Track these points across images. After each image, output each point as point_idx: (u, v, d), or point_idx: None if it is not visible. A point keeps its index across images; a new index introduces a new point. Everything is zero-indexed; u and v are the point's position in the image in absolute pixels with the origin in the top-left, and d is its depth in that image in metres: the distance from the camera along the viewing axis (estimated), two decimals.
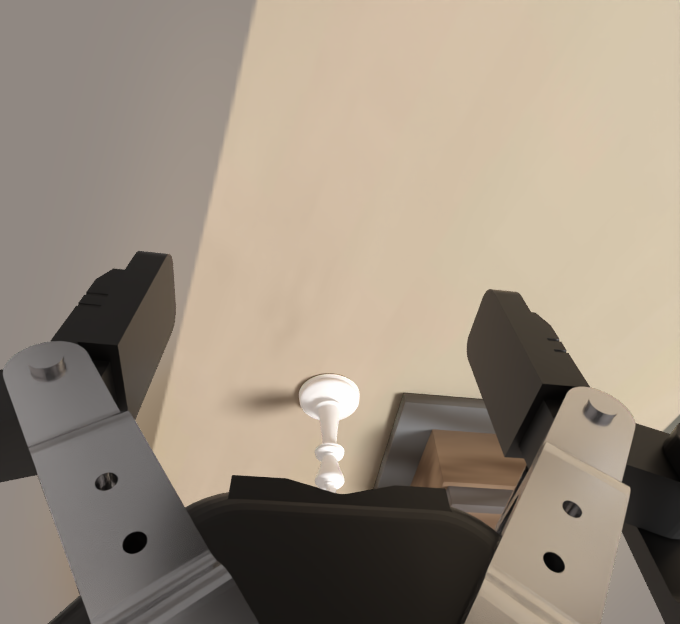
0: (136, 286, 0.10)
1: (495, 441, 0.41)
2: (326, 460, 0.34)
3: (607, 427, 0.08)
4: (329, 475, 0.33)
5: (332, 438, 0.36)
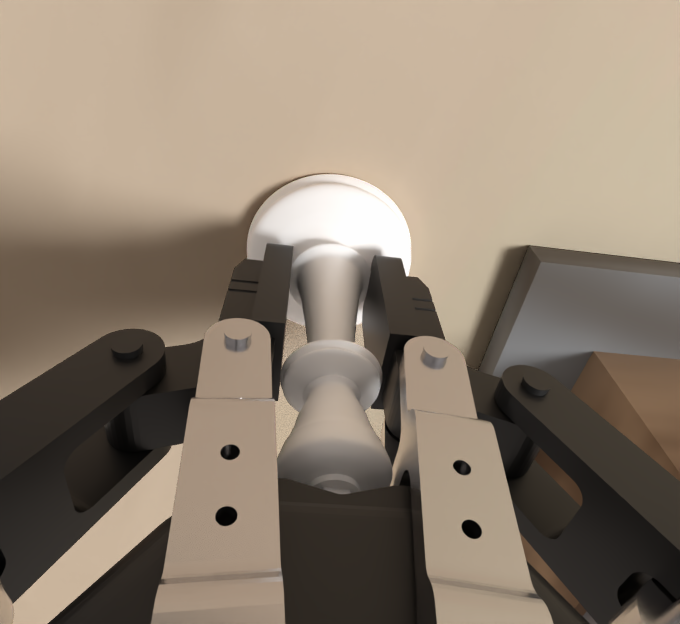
0: (279, 273, 0.11)
1: None
2: (321, 396, 0.09)
3: (435, 369, 0.09)
4: (332, 450, 0.08)
5: (341, 337, 0.11)
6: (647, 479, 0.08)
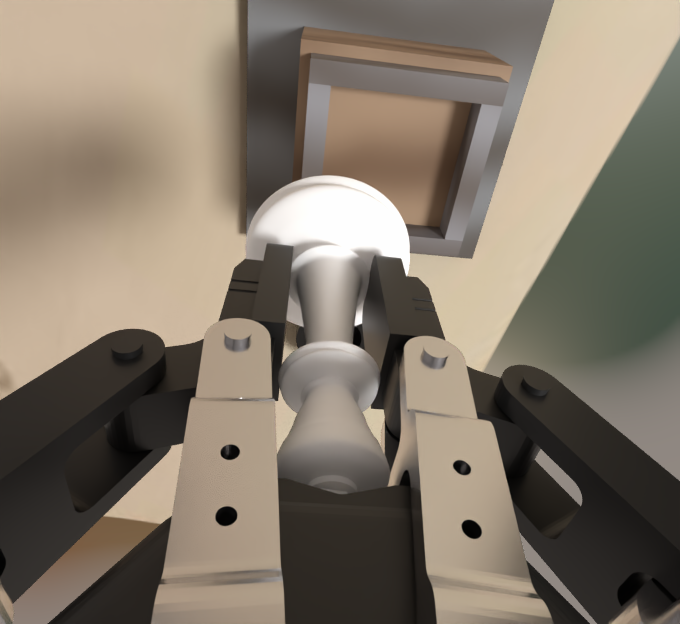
0: (279, 273, 0.11)
1: (403, 41, 0.26)
2: (319, 398, 0.09)
3: (435, 369, 0.09)
4: (329, 452, 0.08)
5: (339, 339, 0.11)
6: (646, 479, 0.08)
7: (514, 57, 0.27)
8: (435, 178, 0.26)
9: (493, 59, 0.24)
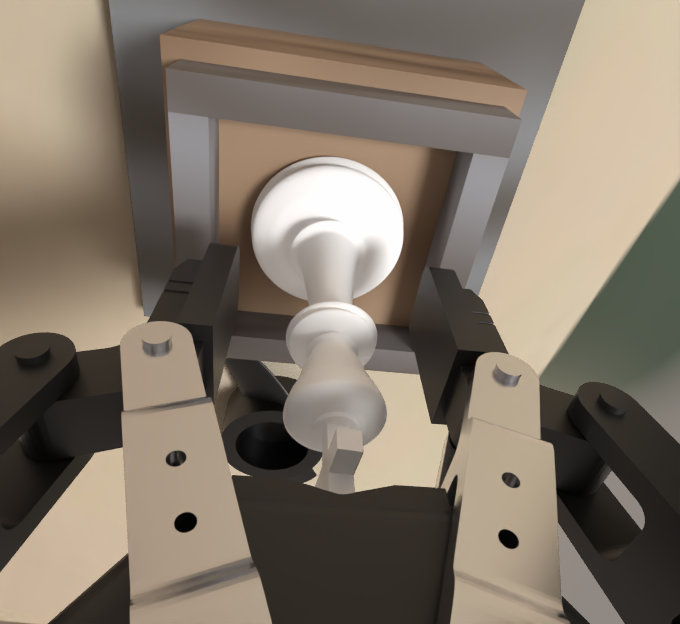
0: (217, 274, 0.11)
1: (354, 45, 0.16)
2: (324, 350, 0.10)
3: (510, 387, 0.09)
4: (334, 390, 0.09)
5: None
6: None
7: (525, 74, 0.18)
8: (400, 259, 0.17)
9: (494, 77, 0.15)
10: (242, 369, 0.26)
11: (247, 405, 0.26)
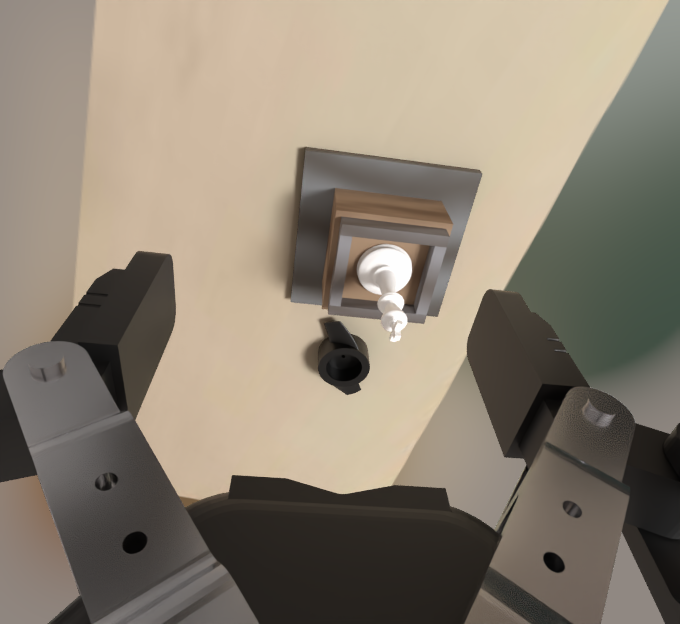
0: (136, 286, 0.10)
1: (393, 198, 0.44)
2: (390, 305, 0.37)
3: (607, 427, 0.08)
4: (395, 313, 0.36)
5: None
6: None
7: (459, 205, 0.45)
8: (410, 278, 0.44)
9: (443, 215, 0.42)
10: (333, 328, 0.53)
11: (334, 346, 0.54)
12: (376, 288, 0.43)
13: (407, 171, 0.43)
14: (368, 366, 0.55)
